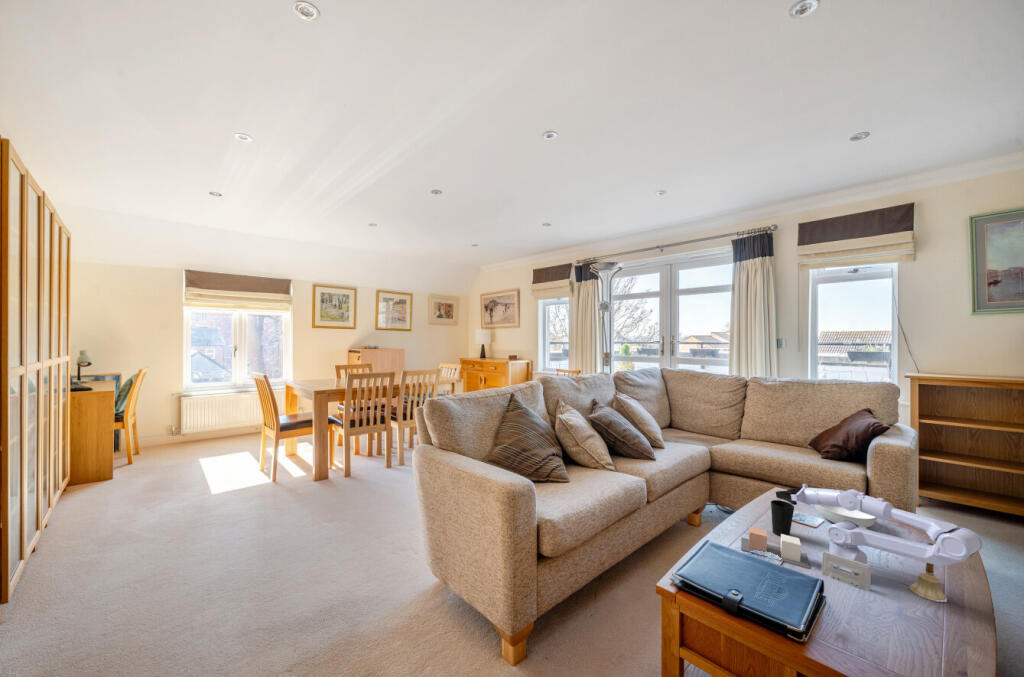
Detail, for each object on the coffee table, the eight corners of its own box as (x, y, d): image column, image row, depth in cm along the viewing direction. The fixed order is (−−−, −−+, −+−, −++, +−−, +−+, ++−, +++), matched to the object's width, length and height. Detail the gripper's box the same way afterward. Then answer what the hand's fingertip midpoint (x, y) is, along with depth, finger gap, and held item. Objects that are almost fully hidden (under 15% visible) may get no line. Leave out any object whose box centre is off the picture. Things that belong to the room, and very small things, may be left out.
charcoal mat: (805, 554, 142) (805, 553, 142) (809, 568, 134) (809, 567, 134) (741, 538, 153) (741, 537, 152) (741, 550, 144) (741, 549, 144)
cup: (797, 539, 153) (799, 508, 153) (777, 538, 153) (779, 508, 153) (784, 529, 161) (785, 500, 161) (765, 528, 161) (766, 499, 161)
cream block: (798, 554, 142) (799, 538, 141) (800, 562, 137) (800, 545, 137) (780, 550, 144) (780, 533, 144) (781, 557, 140) (782, 540, 140)
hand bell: (953, 607, 117) (956, 553, 117) (915, 596, 121) (918, 545, 121) (940, 591, 124) (943, 541, 124) (904, 582, 128) (907, 533, 128)
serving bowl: (826, 529, 162) (826, 513, 162) (804, 508, 182) (805, 493, 182) (888, 539, 156) (889, 521, 156) (859, 515, 176) (860, 500, 176)
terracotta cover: (765, 546, 147) (766, 530, 146) (766, 553, 142) (767, 536, 142) (748, 541, 149) (749, 526, 149) (748, 548, 145) (749, 532, 145)
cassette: (821, 575, 131) (822, 552, 130) (821, 572, 132) (823, 550, 132) (870, 592, 123) (871, 567, 122) (870, 589, 124) (871, 565, 124)
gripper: (829, 483, 145) (791, 480, 157) (807, 487, 139) (768, 484, 150) (835, 503, 143) (795, 499, 155) (812, 508, 137) (772, 504, 149)
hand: (782, 493), depth 153 cm, fingers open, 7 cm apart
